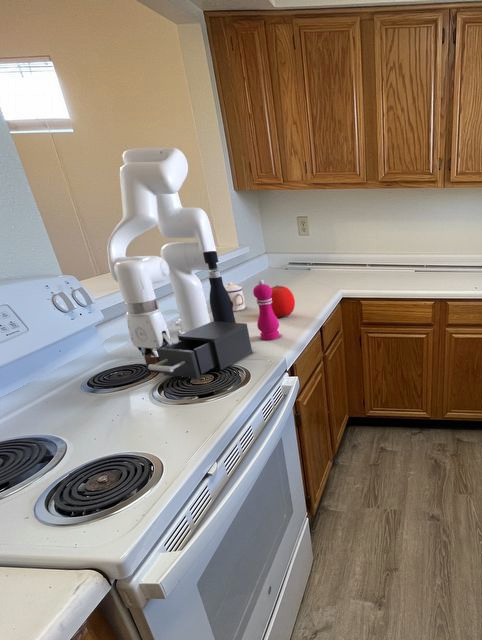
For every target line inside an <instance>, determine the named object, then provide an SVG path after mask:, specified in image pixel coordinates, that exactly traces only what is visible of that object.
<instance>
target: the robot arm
mask: <svg viewBox="0 0 482 640" xmlns="http://www.w3.org/2000/svg"><path fill="white" fill-rule="evenodd" d="M122 162H123V164H124V165H122V166H121V167H120V170H119V182H120V183H119V184H120V195H121V207H122V208H121V209H122V218H121V220H120V221H119V222H118V223H117V225H116V226H115V228H114V229H113V231H112V232H111V235H110V236H109V238H108V240H107V245H106V246H107V249H106V250H107V251H106V252H107V261H108V262H107V263H108V269H109V273H110V276H111V277H112V279H113V280H114V281H115V282H116V283H118V286H119V289H120V293H121V296H122V299H123V302H124V305H125V308H126V311H127V312H126V314H125V315H126V325H127V329H128V334H129V337H130V340H131V343H132V345H133V346H134V347H135V348H137V350H139V351H140V352H141V356H143V357H144V356H146V355H148V354H150V353H153V352H154V350H157V349H158V348H166V347H167V346H169V345H171V344H174V343H175V342H173V341H172V340H171V335H170V331H169V329H168V326H167V323H166V321H165V318H164V315H163V314H162V312H161V310H160V308H159V305H158V301H157V296H156V293H155V290H154V286H153V284H160V283H163V282H164V281H166V280H167V279H168V278H169V281H170V284H171V287H172V291H173V295H174V299H175V303H176V307H177V311H178V314H179V318H178V319H177V320H176V321H175V322H174V324H175V326H179V327H180V329H179V330H178V333H179V335H181V334H184V333H186V332H188V331H191V330H193V329H196V328H198V327H201V326H203V325H205V324H208V323H210V322H211V318H210V314H209V313H210V312H209V309H208V305H207V301H206V296H205V292H204V287H203V283H202V281H201V279H200V278H199V277H198V275H196V274H195V273H194V271H208V270H209V267H208V264H206V263H205V260H204V255H203V252H208V251H216V252H217V247H216V244H215V243H216V242H215V240H214V234H213V230H212V226H211V221H210V220H209V217H208V214H207V213H206V211H205V210H204V209H202V208H201V207H195V206H191V207H190V206H189V207H187V206H186V207H183V205H182V202H181V200H180V196H179V191H180V190H181V188H182V186H183V184H184V182H185V181H186V179H187V177H188V173H189V165H188V160H187V158H186V155H185V154H184V153H183V151H181V149H179V148H176V147H137V148H130V149H127V150H125V151H124V152H123V154H122ZM155 227H157V228H158V231H159V233H160V234H161V235H162V236H163V237H164V238H167V239H189V238H191V239H193V238H194V239H196V241H177V242H170V243H166V244H164V245H163V246H162V247H161V249H160V256H158V255H134V256H127V255H126V254H127V249H128V246H129V245H130V243H131V242H132V241H133V240H134V239H135V238H136V237H138V236H140V235H142V234H143V233H145V232H147V231H149V230H151V229H152V228H155ZM218 263H219V262H218ZM218 263H217V265H218ZM209 271H210V270H209Z"/></svg>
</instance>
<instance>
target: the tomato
mask: <svg viewBox="0 0 482 640" xmlns="http://www.w3.org/2000/svg"><path fill="white" fill-rule="evenodd" d="M270 288H271V290H272V295H271V297H270V298H272V303H271V307H272V310H273V313H274V314H275V316H276V317H277V318H283V317H288V316H291V314H292V313H293V312H294V310H295V306H296V305H295V304H296V301H295V296H294V294H293V292H292V291H291V289H289V288H288V287H287V286H284V285H278V284H276V285H275V286H272V287H270Z"/></svg>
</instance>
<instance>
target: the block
mask: <svg viewBox="0 0 482 640" xmlns="http://www.w3.org/2000/svg"><path fill="white" fill-rule="evenodd" d="M143 357H144V361H145V364H146V368H147V371H149V372H158V373H161V372H162V371H157V370H150V369H148V366H149V365H150V364H153V365H154V364H156V363H158V362H160V360H159V356H158V353H157V350H155V351H153V352H152V353H150V354H148V355H146V356H143Z"/></svg>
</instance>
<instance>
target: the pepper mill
mask: <svg viewBox="0 0 482 640" xmlns="http://www.w3.org/2000/svg"><path fill="white" fill-rule="evenodd" d="M271 288H272V287H271V286H270V285H268V284H265V281H264V280H263V279H259V280H258V282H257V285H255V286H254V288H253V291H252V293H253V296H254V297H255V298H256V300H255V301H256V305H258V311H259V313H258V318H257V323H256V326H257V329H258V330H259V333H260V335H259V336H260V339H261V340H264V341H271V340H276V339H278V338H279V337H280V331H279V330H278V329H279V328H280V322H279V320H278V319H279V318H278V317H276V316H275V314H274V313H273V310H272V307H271V303H272V298H270V297H271V295H272V290H271Z"/></svg>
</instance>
